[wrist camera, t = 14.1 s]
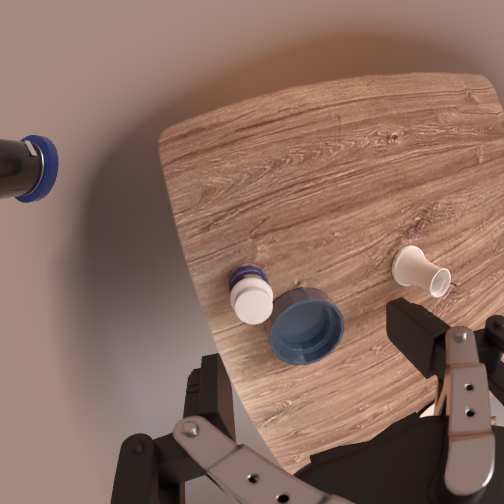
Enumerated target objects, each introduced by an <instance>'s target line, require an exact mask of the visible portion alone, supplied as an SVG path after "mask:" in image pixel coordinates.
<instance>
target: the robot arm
mask: <svg viewBox="0 0 504 504" xmlns="http://www.w3.org/2000/svg"><path fill="white" fill-rule="evenodd" d="M44 173H45V156H44V152H43V150H42V148H41V147H40V146H39V145H38V144H37V143H34V142H30V141H26V140H25V142H22V141H14V140H5V139H0V199H4V198H9V197H16V196H27V195H30V194H32V193H34V192H35V191H36V190H37V189H38V187H39V186H40V184H41V182H42V180H43V177H44ZM386 331H387V335H388V338H389V339H390V341H391V342H392V343H393V344H394V345H395V346H396V347H397V348H398V349H399V350H400V351H401V352H402V353H403V354H404V356H405V357H406V358H407V359H408V360H409V361H410V362H411V363H412V364H413V365H414V366H415V367H416V368H417V369H418V370H419V371H420V372H421V374H422V375H423V376H424V377H425V378H426V379H428V378H430V377H432V376H433V375H436V376H437V380H436V393H435V406H434V414H433V415H432V416H425V417H421V418H420V417H419V416H418V415H417V413H416V412H414V413H412V414H411V415H409V416H407V417H405V418H403V419H401V420H399V421H397V422H395V423H393V424H391V425H390V426H389V427H388V428H386V429H385V430H384V431H382V432H381V433H380V434H378V435H377V436H375V437H374V438H373V439H371V440H369V441H366V442H361V443H356V444H350V445H344V446H338V447H335V448H332V449H329V450H326V451H323V452H320V453H317V454H313V455H310V460H311V463H309V464H308V465H306V466H304V467H303V468H301V469H300V470H298V471H297V472H296V473H295V474H293V475H291V474H290V473H288V472H286V471H285V470H283V469H281V468H280V467H278V466H277V465H275V464H273V463H272V462H270V461H269V460H267V459H266V458H264V457H263V456H261V455H260V454H258V453H257V452H255V451H254V450H252V449H251V448H249V447H247V446H246V445H244V444H241V445H238V444H236V438H235V425H234V412H233V397H232V387H231V383H230V379H229V377H228V374H227V372H226V369H225V367H224V364H223V362H222V359H221V357H220V354H219V353H216V354H212V355H207V356H203V357H202V363H201V368H198V369H194V370H193V371H192V372H191V374H190V375H189V377H188V382H187V390H186V397H185V405H184V406H185V407H184V414H183V419H182V420H180V421H179V422H178V423H177V424H176V425H175V427H174V429H173V432H172V433H170V434H168V435H165V436H162V437H159V438H156V439H154V440H152V438H151V437H150V436H148V435H146V434H141V433H140V434H134V435H132V436H130V437H128V438H127V439H126V440H125V441H124V442H123V443H122V445H121V449H120V454H119V459H118V464H117V469H116V475H115V480H114V486H113V492H112V498H111V504H185V482H186V481H188V480H191V479H194V478H197V477H200V476H203V475H205V476H206V477H208V478H209V479H210V480H211V481H212V482H213V483H214V484H215V485H216V486H217V487H218V488H219V489H221V490H222V491H223V492H224V493H225V494H226V495H228V496H229V497H230V498H231V499H232V500H233V501H234V502H236V503H237V504H504V427H502V426H495V425H491V412H490V398H489V390H490V391H491V392H492V394H493V395H494V396H495V397H496V398H497V399H498V400H499V401H500V402H501V403H502V405H503V406H504V363H503V362H502V361H501V358H502V355H503V353H504V316H501V315H494V316H491V317H489V318H488V319H487V320H486V324H485V328H483V329H480V330H477V331H472V330H471V329H469V328H467V327H464V326H456V327H450V326H449V325H448V324H446V323H445V322H444V321H442V320H441V319H440V318H438V317H437V316H434V314H433V313H431V312H429V311H428V310H427V309H426V308H424V307H423V306H421V305H418V304H415V303H410V302H408V301H407V300H405V299H404V298H402V297H400V298H398V299H395V300H393V301H390V302H388V303H387V305H386Z"/></svg>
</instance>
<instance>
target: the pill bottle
mask: <svg viewBox="0 0 504 504" xmlns="http://www.w3.org/2000/svg"><path fill="white" fill-rule="evenodd" d="M229 290H230V303H231V306H232V308H233V309H234V310H235V313H236V315H237V317H238V318H239V319H240V320H241V321H243V322H245V323H247V324H259V323H262V322H264V321H265V320H266V319H267V318H268V317H269V316H270V315H271V313H272V309H273V303H272V301H273V293H272V289H271V287H270V284H269V282H268V279H267V277H266V275H265V273H264V271H263V270H262V269H261V268H260V267H259V266H257V265H255V264H251V263H245V264H241V265H239V266H237V267H236V268H235V269H234V270H233V271H232V273H231V275H230V279H229Z"/></svg>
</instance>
